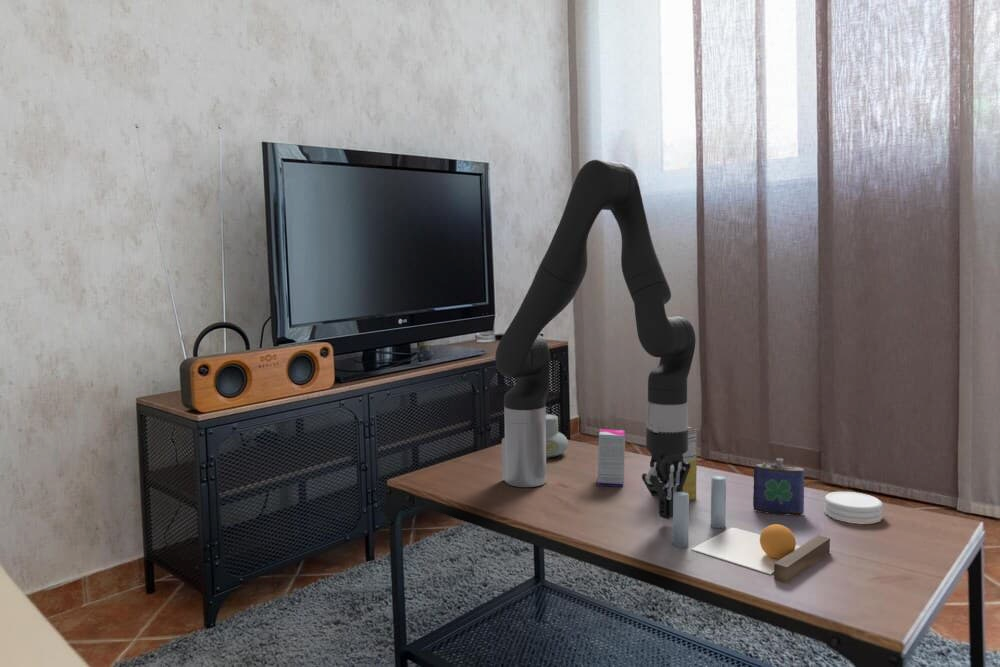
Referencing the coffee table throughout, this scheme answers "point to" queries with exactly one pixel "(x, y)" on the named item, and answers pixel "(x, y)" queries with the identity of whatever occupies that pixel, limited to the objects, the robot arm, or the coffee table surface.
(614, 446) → the supplement box
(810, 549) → the rail
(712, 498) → the post
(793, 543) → the ball
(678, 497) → the post
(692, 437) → the candy box
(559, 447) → the air freshener
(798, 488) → the flask
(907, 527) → the coffee table surface
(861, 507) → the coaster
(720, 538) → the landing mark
